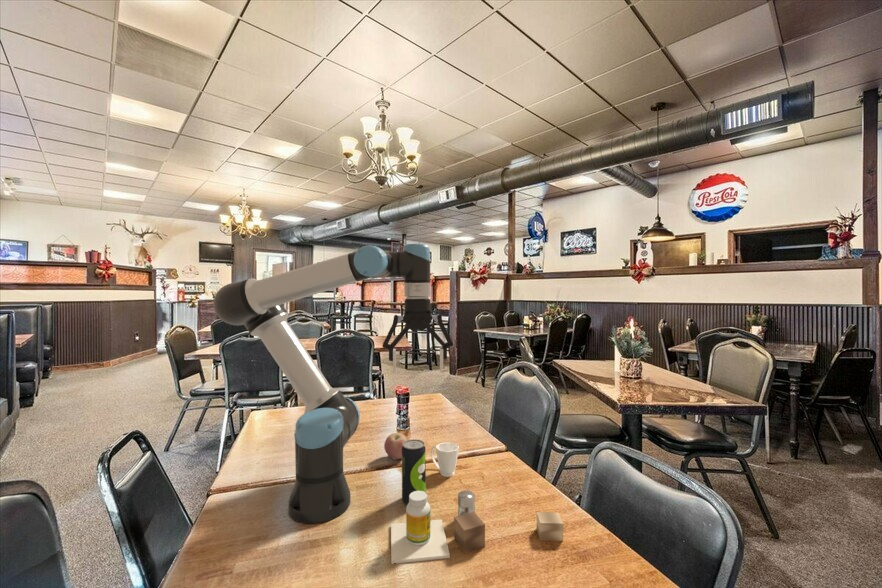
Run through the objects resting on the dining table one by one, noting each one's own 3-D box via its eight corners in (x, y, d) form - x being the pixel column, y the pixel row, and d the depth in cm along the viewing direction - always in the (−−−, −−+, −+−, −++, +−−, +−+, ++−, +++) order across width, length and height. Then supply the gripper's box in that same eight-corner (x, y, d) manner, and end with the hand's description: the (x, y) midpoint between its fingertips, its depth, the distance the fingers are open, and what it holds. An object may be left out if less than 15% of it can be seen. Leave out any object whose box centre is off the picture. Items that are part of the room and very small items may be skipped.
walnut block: (464, 553, 78) (464, 530, 78) (454, 538, 83) (454, 516, 83) (485, 547, 80) (485, 524, 80) (474, 533, 85) (474, 511, 85)
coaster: (391, 564, 75) (391, 561, 75) (391, 526, 87) (391, 523, 87) (449, 557, 77) (449, 555, 77) (441, 521, 89) (441, 519, 89)
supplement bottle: (406, 531, 85) (405, 489, 85) (429, 529, 85) (429, 487, 85) (406, 547, 79) (406, 502, 79) (431, 545, 80) (431, 501, 80)
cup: (448, 481, 107) (448, 454, 107) (423, 470, 114) (423, 444, 114) (463, 472, 113) (463, 446, 112) (439, 462, 119) (439, 437, 119)
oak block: (540, 540, 82) (540, 522, 82) (536, 529, 86) (536, 512, 86) (563, 541, 82) (563, 523, 82) (558, 529, 86) (558, 512, 86)
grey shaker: (459, 525, 88) (459, 500, 87) (456, 515, 92) (456, 491, 91) (476, 524, 88) (476, 499, 88) (472, 514, 92) (472, 490, 92)
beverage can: (399, 496, 100) (399, 440, 100) (421, 492, 102) (421, 437, 102) (405, 509, 94) (405, 450, 94) (428, 504, 96) (428, 446, 96)
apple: (380, 462, 120) (380, 437, 120) (390, 452, 127) (390, 428, 127) (403, 465, 117) (403, 440, 117) (412, 455, 125) (412, 431, 125)
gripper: (372, 298, 102) (373, 375, 103) (462, 297, 105) (463, 372, 105) (374, 298, 110) (375, 369, 110) (458, 297, 113) (458, 367, 113)
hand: (418, 371), depth 108 cm, fingers open, 13 cm apart
